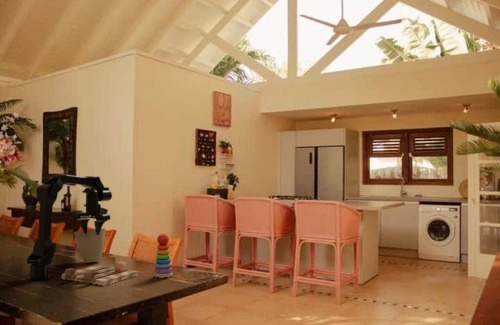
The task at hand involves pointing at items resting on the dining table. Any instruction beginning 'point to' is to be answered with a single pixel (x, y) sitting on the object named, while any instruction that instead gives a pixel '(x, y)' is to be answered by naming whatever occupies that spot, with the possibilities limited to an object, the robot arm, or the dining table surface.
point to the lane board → (104, 280)
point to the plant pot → (90, 244)
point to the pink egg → (120, 266)
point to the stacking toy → (163, 258)
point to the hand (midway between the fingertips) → (91, 234)
